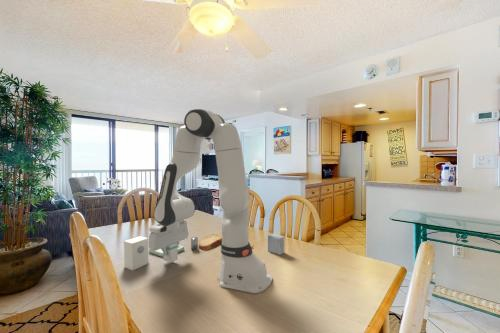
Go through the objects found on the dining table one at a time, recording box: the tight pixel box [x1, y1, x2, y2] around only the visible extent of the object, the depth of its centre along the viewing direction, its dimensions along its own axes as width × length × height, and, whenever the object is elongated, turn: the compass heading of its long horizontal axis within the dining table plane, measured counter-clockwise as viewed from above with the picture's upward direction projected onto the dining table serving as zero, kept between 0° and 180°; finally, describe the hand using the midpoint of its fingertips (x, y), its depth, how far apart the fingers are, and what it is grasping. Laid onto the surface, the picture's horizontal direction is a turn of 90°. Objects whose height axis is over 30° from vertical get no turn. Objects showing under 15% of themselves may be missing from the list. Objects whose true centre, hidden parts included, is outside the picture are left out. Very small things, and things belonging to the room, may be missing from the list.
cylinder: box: [190, 236, 199, 251], centre depth 127 cm, size 4×4×6 cm
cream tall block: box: [123, 235, 150, 271], centre depth 108 cm, size 7×8×12 cm
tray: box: [148, 244, 185, 258], centre depth 124 cm, size 13×12×2 cm
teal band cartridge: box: [163, 242, 179, 263], centre depth 110 cm, size 5×4×8 cm
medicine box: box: [267, 233, 285, 256], centre depth 123 cm, size 8×4×9 cm, turn 47°
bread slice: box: [198, 233, 222, 251], centre depth 136 cm, size 18×18×4 cm
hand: (170, 253), depth 110 cm, fingers closed on teal band cartridge, 4 cm apart
